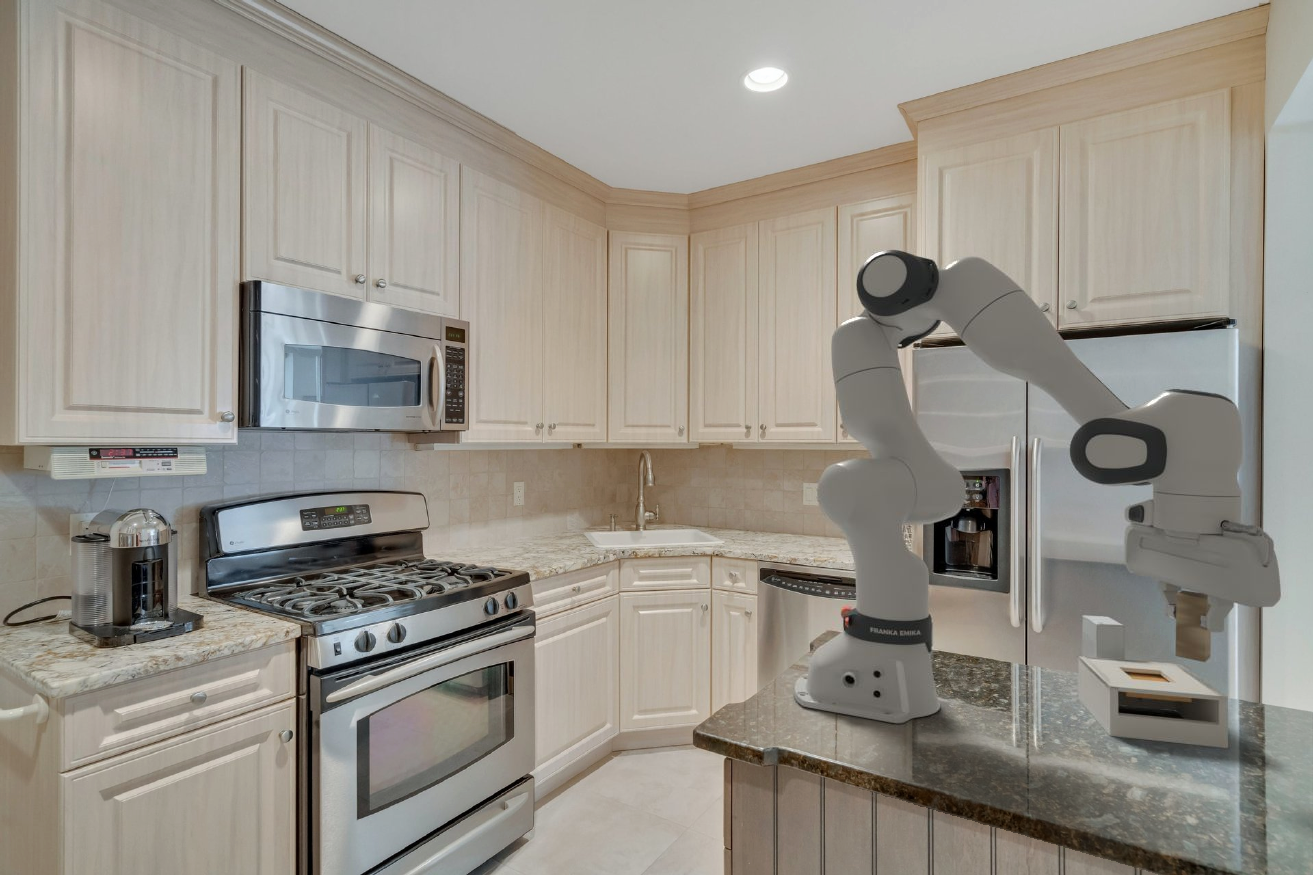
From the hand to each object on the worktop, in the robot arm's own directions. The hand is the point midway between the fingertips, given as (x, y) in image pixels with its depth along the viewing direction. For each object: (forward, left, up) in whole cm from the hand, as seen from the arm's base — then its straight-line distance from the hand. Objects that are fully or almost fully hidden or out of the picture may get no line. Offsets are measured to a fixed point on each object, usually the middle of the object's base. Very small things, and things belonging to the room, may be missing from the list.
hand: (1193, 624), depth 87 cm
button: (0, +15, -15) cm, 21 cm away
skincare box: (-2, +27, -19) cm, 33 cm away
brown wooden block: (0, 0, -4) cm, 4 cm away
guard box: (0, +15, -18) cm, 24 cm away
